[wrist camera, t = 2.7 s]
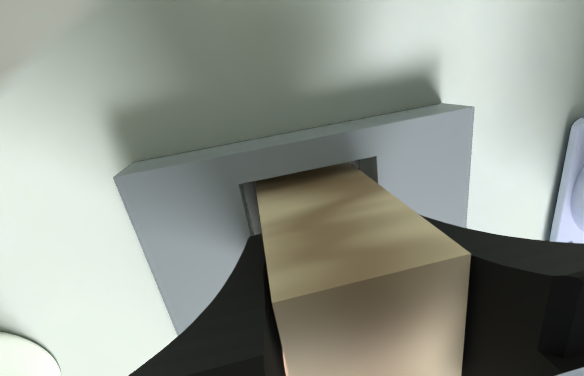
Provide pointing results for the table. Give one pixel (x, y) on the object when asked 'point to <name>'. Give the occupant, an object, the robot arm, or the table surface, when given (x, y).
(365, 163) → the pocket board
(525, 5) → the table surface
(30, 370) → the beer glass
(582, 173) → the robot arm
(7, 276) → the table surface
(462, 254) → the peg
